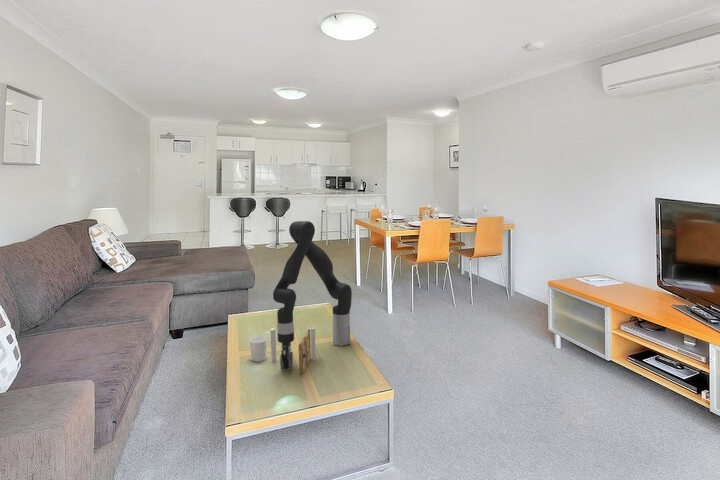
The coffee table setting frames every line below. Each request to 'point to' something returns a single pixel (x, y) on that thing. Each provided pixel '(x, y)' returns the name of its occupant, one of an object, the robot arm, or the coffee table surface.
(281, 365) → the grey cube-like block
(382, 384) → the coffee table surface
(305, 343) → the door
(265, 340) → the white cup
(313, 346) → the door frame
